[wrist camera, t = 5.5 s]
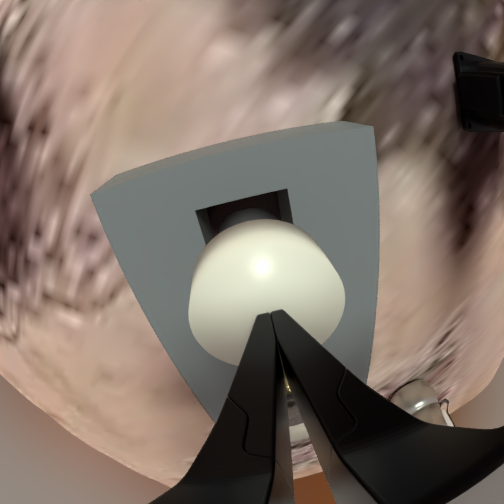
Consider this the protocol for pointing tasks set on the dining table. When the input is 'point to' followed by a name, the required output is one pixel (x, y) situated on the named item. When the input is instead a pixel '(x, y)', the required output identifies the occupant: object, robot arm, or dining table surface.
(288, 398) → the metal screw
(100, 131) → the dining table surface
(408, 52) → the dining table surface
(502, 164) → the dining table surface
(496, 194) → the dining table surface
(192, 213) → the mount
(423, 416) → the plastic bottle
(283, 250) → the knob
